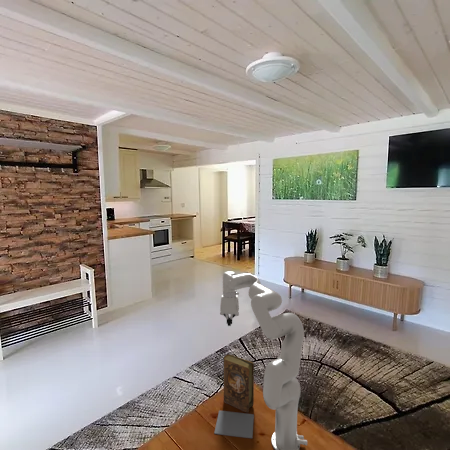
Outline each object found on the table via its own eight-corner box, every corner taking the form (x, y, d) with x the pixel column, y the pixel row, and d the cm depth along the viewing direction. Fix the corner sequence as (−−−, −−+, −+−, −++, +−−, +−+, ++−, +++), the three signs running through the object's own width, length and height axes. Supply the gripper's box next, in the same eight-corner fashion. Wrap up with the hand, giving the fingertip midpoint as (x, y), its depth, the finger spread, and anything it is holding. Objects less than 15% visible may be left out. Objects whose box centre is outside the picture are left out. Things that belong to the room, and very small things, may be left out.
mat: (253, 415, 143) (253, 414, 143) (252, 438, 130) (252, 437, 129) (219, 411, 146) (219, 410, 146) (214, 433, 132) (214, 433, 132)
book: (222, 401, 153) (222, 358, 150) (227, 395, 158) (227, 353, 155) (248, 413, 144) (249, 368, 142) (253, 406, 149) (254, 362, 146)
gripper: (243, 292, 159) (243, 322, 161) (217, 290, 161) (217, 321, 163) (242, 296, 152) (242, 329, 154) (215, 295, 154) (215, 327, 156)
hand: (229, 324), depth 158 cm, fingers closed
